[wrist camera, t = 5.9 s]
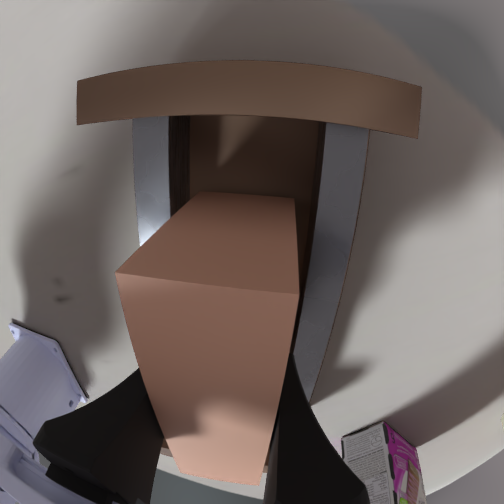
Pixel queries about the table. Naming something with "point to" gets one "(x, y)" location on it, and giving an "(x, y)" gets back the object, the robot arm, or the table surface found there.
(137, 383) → the robot arm
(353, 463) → the candy bar box
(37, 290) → the table surface
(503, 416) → the reusable coffee cup
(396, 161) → the table surface
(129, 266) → the salmon orange block
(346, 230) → the track base
